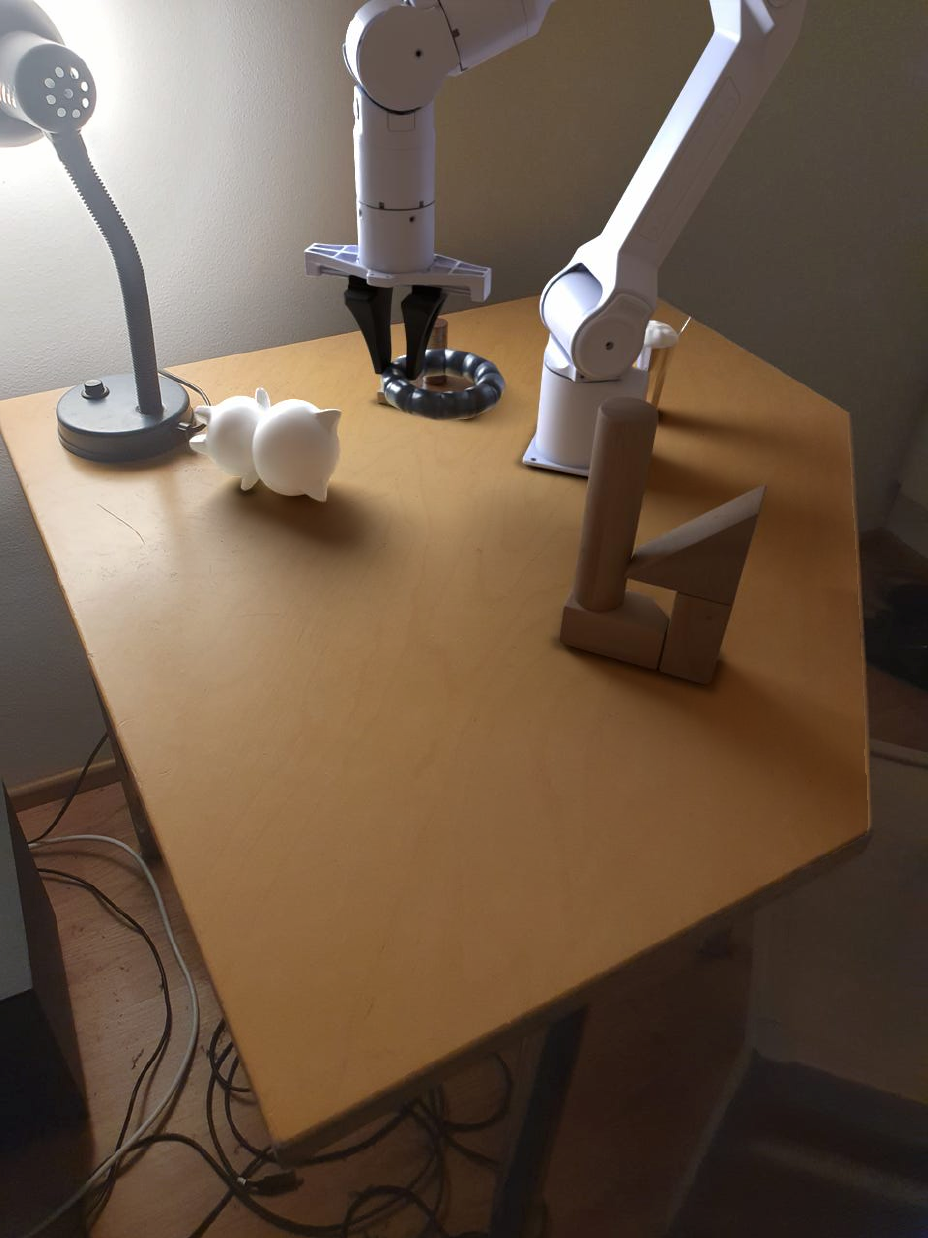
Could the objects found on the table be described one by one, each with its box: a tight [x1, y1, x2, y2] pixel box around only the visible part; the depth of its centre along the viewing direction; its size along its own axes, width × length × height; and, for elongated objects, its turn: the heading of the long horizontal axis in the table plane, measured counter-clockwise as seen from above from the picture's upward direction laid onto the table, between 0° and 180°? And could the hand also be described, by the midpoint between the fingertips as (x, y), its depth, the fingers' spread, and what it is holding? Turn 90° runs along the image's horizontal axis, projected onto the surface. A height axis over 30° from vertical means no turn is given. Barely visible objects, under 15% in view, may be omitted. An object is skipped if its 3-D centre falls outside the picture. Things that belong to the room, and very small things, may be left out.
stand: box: [376, 317, 476, 406], centre depth 91 cm, size 9×9×7 cm
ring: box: [379, 348, 506, 422], centre depth 75 cm, size 10×10×2 cm
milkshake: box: [632, 315, 691, 410], centre depth 88 cm, size 4×5×10 cm
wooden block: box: [558, 397, 768, 685], centre depth 58 cm, size 4×11×18 cm, turn 68°
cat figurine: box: [188, 387, 342, 503], centre depth 78 cm, size 9×11×12 cm
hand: (398, 372), depth 75 cm, fingers closed on ring, 2 cm apart
